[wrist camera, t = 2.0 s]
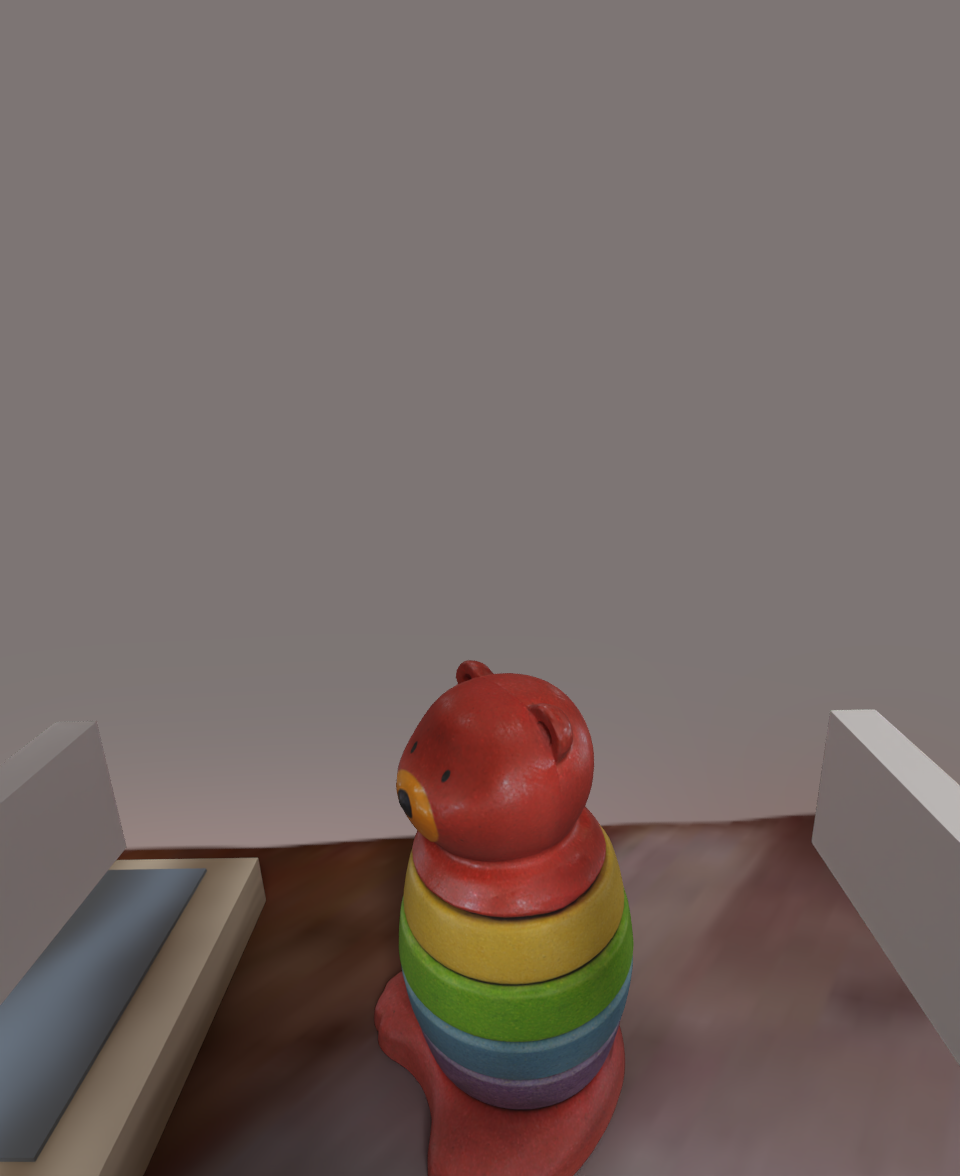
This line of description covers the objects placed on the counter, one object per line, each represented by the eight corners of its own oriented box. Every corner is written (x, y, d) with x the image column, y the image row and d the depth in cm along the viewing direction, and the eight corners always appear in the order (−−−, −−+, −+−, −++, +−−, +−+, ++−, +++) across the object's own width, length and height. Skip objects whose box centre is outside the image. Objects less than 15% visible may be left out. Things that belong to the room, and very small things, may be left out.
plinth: (266, 900, 38) (257, 854, 37) (108, 1254, 23) (86, 1192, 22) (-36, 904, 39) (-52, 860, 38) (-382, 1248, 24) (-424, 1189, 23)
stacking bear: (363, 1005, 31) (316, 662, 26) (546, 923, 35) (539, 612, 30) (456, 1264, 22) (415, 816, 17) (689, 1113, 26) (718, 713, 21)
